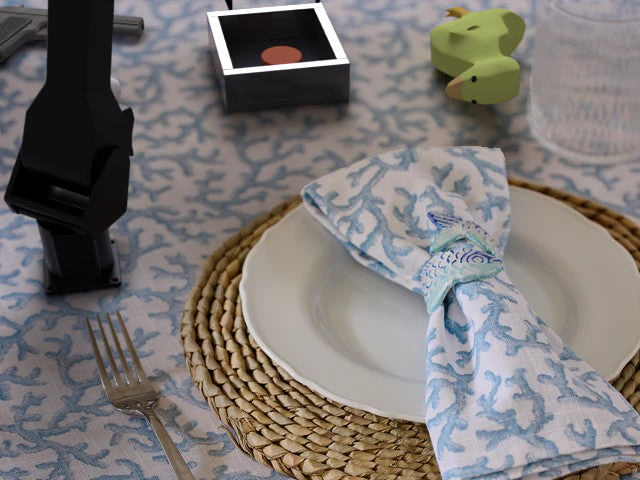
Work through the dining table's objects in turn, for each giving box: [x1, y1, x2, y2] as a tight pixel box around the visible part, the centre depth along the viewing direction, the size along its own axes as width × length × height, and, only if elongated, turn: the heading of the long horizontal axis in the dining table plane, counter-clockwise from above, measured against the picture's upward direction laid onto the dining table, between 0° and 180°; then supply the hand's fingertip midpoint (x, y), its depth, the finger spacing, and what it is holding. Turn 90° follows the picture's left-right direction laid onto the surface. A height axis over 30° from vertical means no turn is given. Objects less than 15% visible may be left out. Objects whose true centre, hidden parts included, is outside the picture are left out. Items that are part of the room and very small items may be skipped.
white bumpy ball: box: [111, 76, 122, 101], centre depth 110 cm, size 3×3×3 cm
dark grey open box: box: [205, 2, 351, 114], centre depth 114 cm, size 15×14×4 cm
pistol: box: [0, 4, 145, 64], centre depth 119 cm, size 2×18×12 cm
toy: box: [429, 6, 527, 105], centre depth 114 cm, size 6×17×20 cm
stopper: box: [261, 46, 302, 66], centre depth 111 cm, size 4×4×3 cm
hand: (273, 5), depth 106 cm, fingers open, 9 cm apart
